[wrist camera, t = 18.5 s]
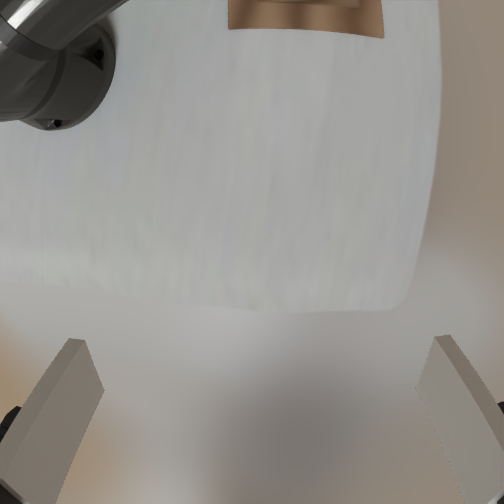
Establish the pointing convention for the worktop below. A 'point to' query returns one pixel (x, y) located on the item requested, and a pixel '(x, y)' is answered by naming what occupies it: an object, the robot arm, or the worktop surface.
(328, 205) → the worktop surface
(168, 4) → the worktop surface
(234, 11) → the coaster tray
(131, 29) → the worktop surface
